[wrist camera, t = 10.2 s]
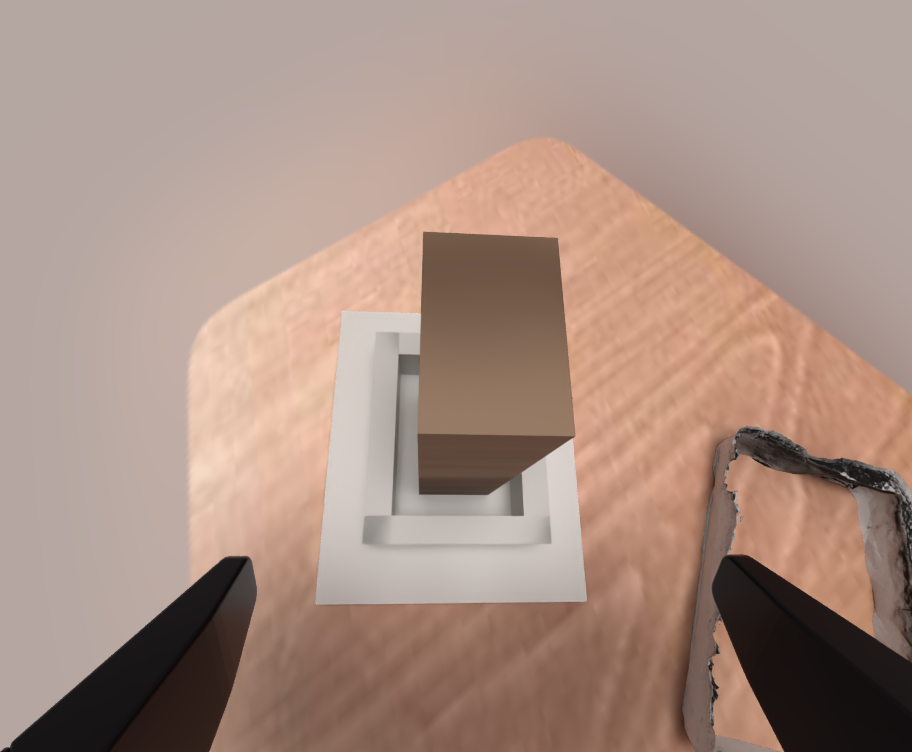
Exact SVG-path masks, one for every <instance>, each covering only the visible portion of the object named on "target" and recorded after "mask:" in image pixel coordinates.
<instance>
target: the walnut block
mask: <svg viewBox="0 0 912 752" xmlns="http://www.w3.org/2000/svg"><path fill="white" fill-rule="evenodd" d="M574 437H575V426H574V415H573V403H572V392H571V381H570V370H569V359H568V347H567V336H566V325H565V314H564V303H563V291H562V280H561V269H560V258H559V247H558V238H545V237H524V236H503V235H481V234H460V233H438V232H423V261H422V295H421V329H420V362H419V396H418V430H417V438H418V474H419V495H489V494H490V493H492V492H493V491H495V490H496V489H498V488H499V487H501V486H502V485H504V484H505V483H507V482H508V481H510V480H511V479H513V478H514V477H516V476H517V475H519V474H520V473H522V472H523V471H525V470H526V469H528V468H529V467H531V466H532V465H534V464H535V463H536V462H538V461H539V460H541V459H542V458H544V457H545V456H547V455H548V454H550V453H551V452H553V451H554V450H556V449H557V448H559V447H560V446H562V445H563V444H565V443H566V442H568V441H569V440H571V439H572V438H574Z"/></svg>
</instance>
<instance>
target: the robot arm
mask: <svg viewBox="0 0 912 752" xmlns="http://www.w3.org/2000/svg"><path fill="white" fill-rule="evenodd" d="M256 595H257V587H256V581H255V576H254V570H253V565H252V561H251V559H250V557H248V556H228V557H225V558H223V559H222V560H221V561H220V562H219V563H217V564H216V565H215V566H214V567H213V568H212V569H210V570H209V571H208V572H207V573H206V574H205V575H204V576H202V577H201V578H200V579H199V580H198V581H197V582H196V583H194V584H193V585H192V586H191V587H190V588H189V589H187V590H186V591H185V592H184V593H183V594H182V595H181V596H180V597H178V598H177V599H176V600H175V601H174V602H172V603H171V604H170V605H169V606H168V607H167V608H166V609H165V610H163V611H162V612H161V613H160V614H159V615H158V616H156V617H155V618H154V619H153V620H152V621H151V622H150V623H148V624H147V625H146V626H145V627H144V628H143V629H141V630H140V631H139V632H138V633H137V634H136V635H134V636H133V637H132V638H131V639H130V640H129V641H128V642H126V643H125V644H124V645H123V646H122V647H121V648H120V649H118V650H117V651H116V652H115V653H114V654H113V655H111V656H110V657H109V658H108V659H107V660H106V661H105V662H104V663H102V664H101V665H100V666H99V667H98V668H97V669H95V670H94V671H93V672H92V673H91V674H90V675H88V676H87V677H86V678H85V679H84V680H83V681H82V682H80V683H79V684H78V685H77V686H76V687H75V688H73V689H72V690H71V691H70V692H69V693H68V694H67V695H65V696H64V697H63V698H62V699H61V700H60V701H58V702H57V703H56V704H55V705H54V706H53V707H52V708H50V709H49V710H48V711H47V712H46V713H45V714H43V715H42V716H41V717H40V718H39V719H38V720H37V721H36V722H34V723H33V724H32V725H31V726H30V727H28V728H27V729H26V730H25V731H24V732H23V733H22V734H21V735H20V736H18V737H17V738H16V739H15V740H14V741H13V742H12V743H11V746H10V748H9V747H6V748H4V749H3V750H2V751H1V752H209V751H210V748H211V745H212V743H213V740H214V737H215V735H216V732H217V729H218V727H219V724H220V721H221V719H222V716H223V713H224V711H225V708H226V705H227V702H228V699H229V697H230V694H231V691H232V687H233V684H234V680H235V677H236V673H237V669H238V666H239V662H240V658H241V654H242V650H243V647H244V643H245V639H246V635H247V632H248V628H249V624H250V620H251V617H252V613H253V609H254V605H255V601H256ZM712 595H713V598H714V601H715V603H716V606H717V608H718V611H719V613H720V615H721V618H722V620H723V623H724V625H725V628H726V630H727V632H728V635H729V637H730V640H731V642H732V645H733V647H734V649H735V652H736V654H737V657H738V659H739V662H740V664H741V666H742V669H743V671H744V673H745V675H746V678H747V680H748V682H749V684H750V686H751V688H752V690H753V692H754V694H755V696H756V698H757V700H758V702H759V704H760V706H761V708H762V710H763V712H764V714H765V715H766V717H767V719H768V721H769V723H770V725H771V727H772V729H773V731H774V733H775V735H776V737H777V739H778V741H779V743H780V745H781V746H782V748H783V750H784V752H912V662H910V661H909V660H907V659H906V658H904V657H903V656H901V655H899V654H898V653H896V652H895V651H893V650H892V649H890V648H889V647H887V646H886V645H884V644H883V643H881V642H880V641H878V640H877V639H875V638H874V637H872V636H870V635H869V634H867V633H866V632H864V631H863V630H861V629H860V628H858V627H857V626H855V625H854V624H852V623H851V622H849V621H848V620H846V619H845V618H843V617H841V616H840V615H838V614H837V613H835V612H834V611H832V610H831V609H829V608H828V607H826V606H825V605H823V604H822V603H820V602H819V601H817V600H816V599H814V598H812V597H811V596H809V595H808V594H806V593H805V592H803V591H802V590H800V589H799V588H797V587H796V586H794V585H793V584H791V583H790V582H788V581H787V580H785V579H783V578H782V577H780V576H779V575H777V574H776V573H774V572H773V571H771V570H770V569H768V568H767V567H765V566H764V565H762V564H761V563H759V562H758V561H756V560H754V559H753V558H751V557H750V556H747V555H725V556H724V557H723V558H722V559H721V562H720V564H719V567H718V569H717V572H716V574H715V577H714V579H713V582H712Z"/></svg>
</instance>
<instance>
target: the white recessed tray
mask: <svg viewBox="0 0 912 752" xmlns="http://www.w3.org/2000/svg"><path fill="white" fill-rule="evenodd" d="M420 329H421V313H396V312H366V311H342V316H341V327H340V338H339V348H338V359H337V370H336V381H335V392H334V402H333V413H332V424H331V435H330V445H329V456H328V467H327V478H326V489H325V499H324V510H323V521H322V532H321V542H320V553H319V564H318V575H317V586H316V596H315V605H338V604H426V603H515V602H587V594H586V583H585V572H584V561H583V549H582V538H581V527H580V516H579V505H578V493H577V482H576V471H575V460H574V448H573V438H572V439H571V440H569V441H568V442H566V443H565V444H563V445H562V446H560V447H559V448H557V449H556V450H554V451H553V452H551V453H550V454H548V455H547V456H545V457H544V458H542V459H541V460H539V461H538V462H536V463H535V464H534V465H532V466H531V467H529V468H528V469H526V470H525V471H523V472H522V473H520V474H519V475H517V476H516V477H514V478H513V479H511V480H510V481H508V482H507V483H505V484H504V485H502V486H501V487H499V488H498V489H496V490H495V491H493V492H492V493H490V494H489V495H419V474H418V438H417V430H418V396H419V362H420Z"/></svg>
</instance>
